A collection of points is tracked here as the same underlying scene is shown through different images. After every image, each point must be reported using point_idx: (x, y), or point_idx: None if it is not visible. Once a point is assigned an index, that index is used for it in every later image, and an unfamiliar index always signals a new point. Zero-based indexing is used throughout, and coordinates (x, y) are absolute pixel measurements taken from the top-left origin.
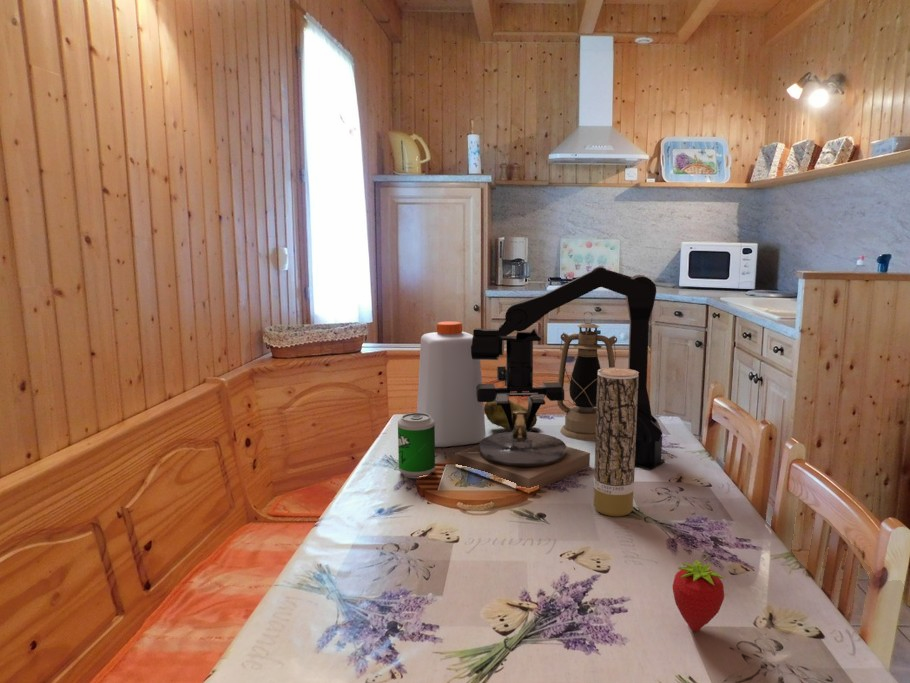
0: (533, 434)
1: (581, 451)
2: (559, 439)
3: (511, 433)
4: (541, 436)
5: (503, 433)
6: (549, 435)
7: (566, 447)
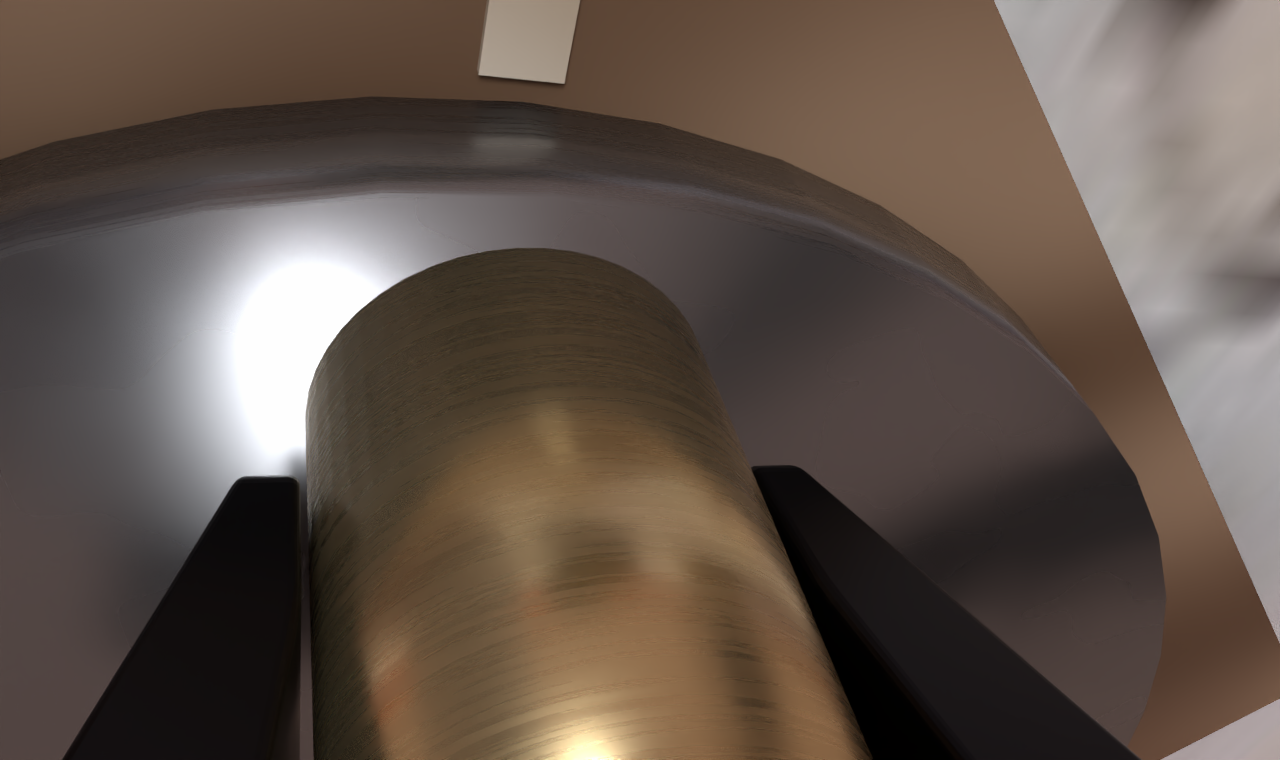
0: (852, 430)
1: (1246, 658)
2: (1155, 656)
3: (291, 345)
4: (952, 538)
5: (22, 326)
6: (1135, 492)
7: (1179, 541)
